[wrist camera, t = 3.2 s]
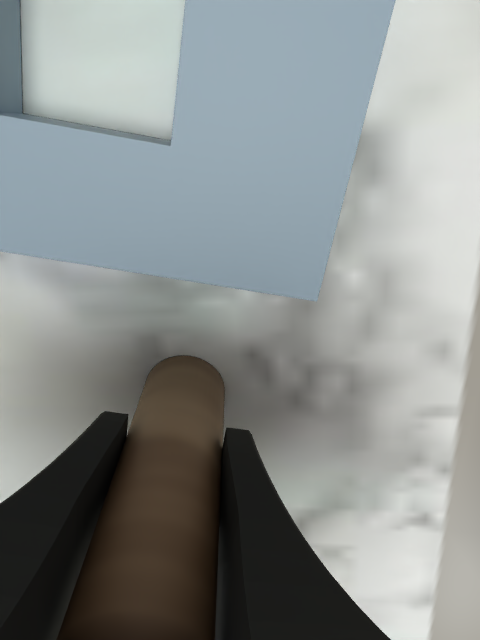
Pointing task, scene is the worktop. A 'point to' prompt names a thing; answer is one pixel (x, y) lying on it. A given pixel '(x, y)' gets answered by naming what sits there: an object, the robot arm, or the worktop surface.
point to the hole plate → (205, 152)
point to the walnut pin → (158, 518)
